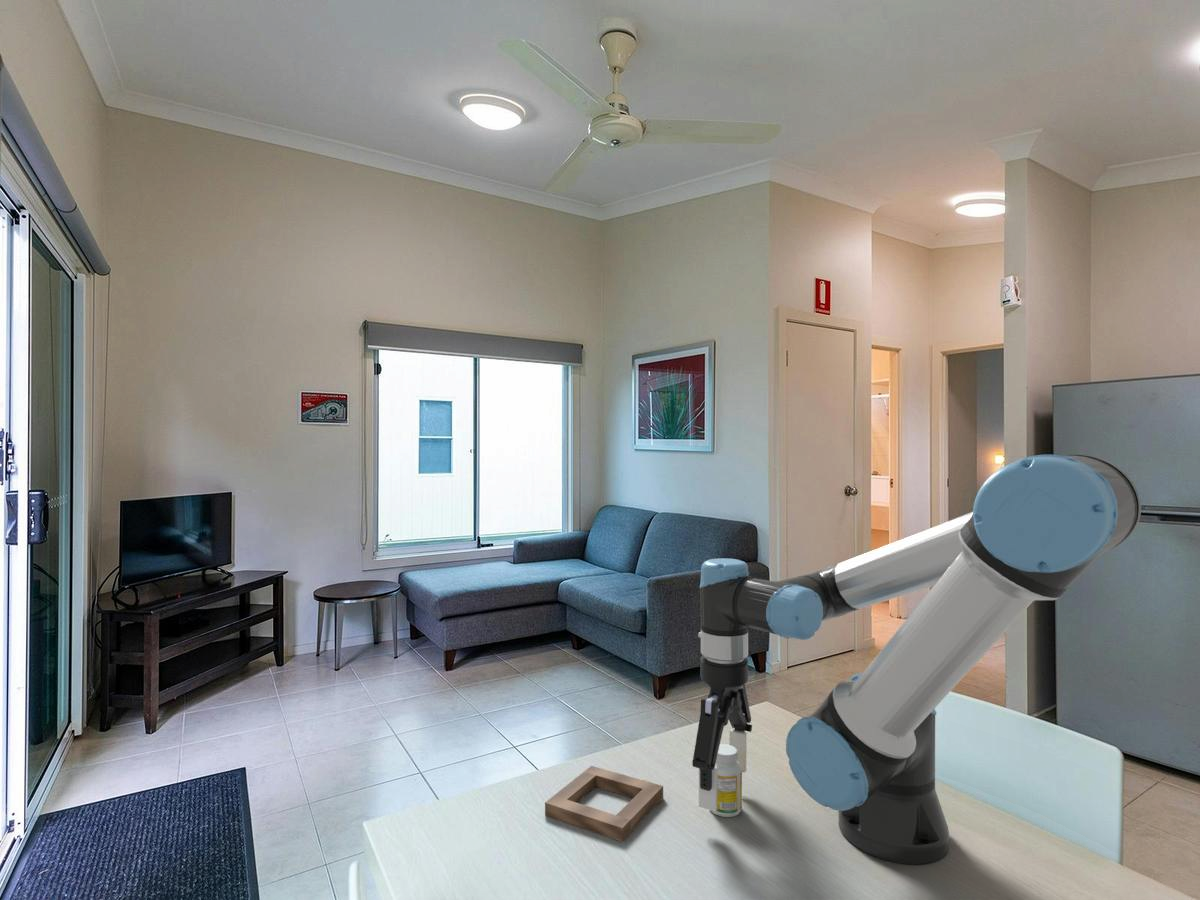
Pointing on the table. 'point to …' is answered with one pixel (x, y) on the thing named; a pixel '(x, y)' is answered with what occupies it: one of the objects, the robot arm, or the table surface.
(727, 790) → the supplement bottle
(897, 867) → the table surface
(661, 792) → the holder frame
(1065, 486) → the robot arm
